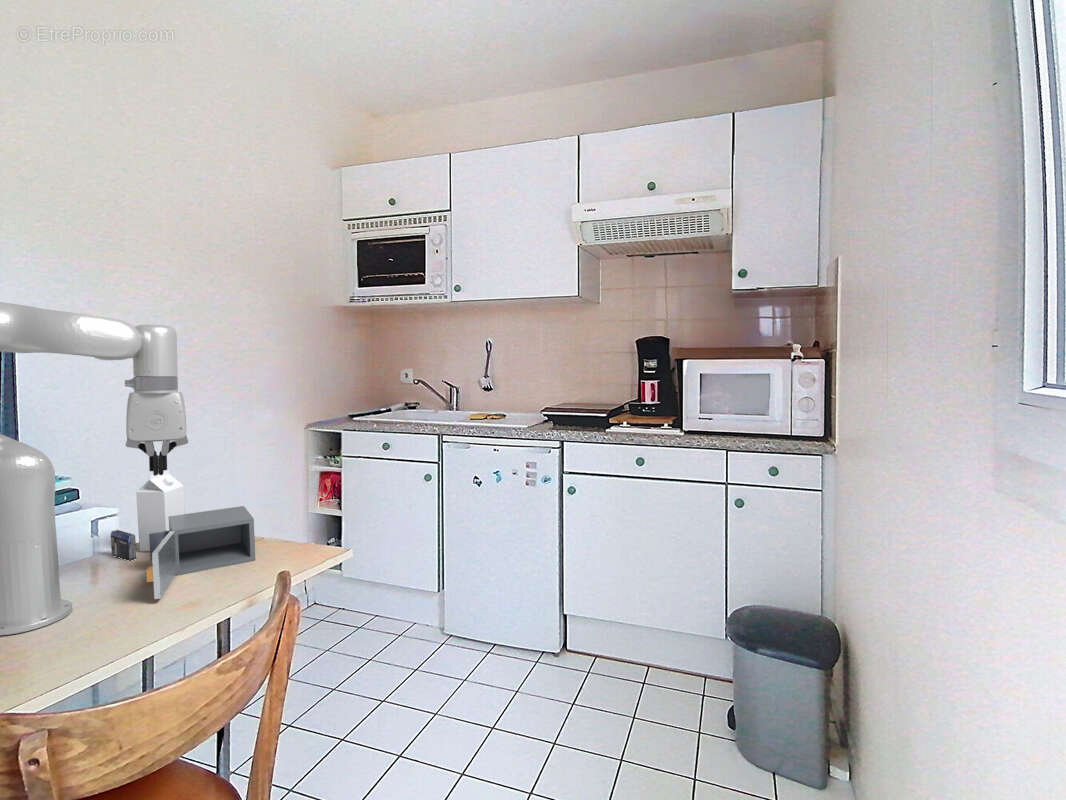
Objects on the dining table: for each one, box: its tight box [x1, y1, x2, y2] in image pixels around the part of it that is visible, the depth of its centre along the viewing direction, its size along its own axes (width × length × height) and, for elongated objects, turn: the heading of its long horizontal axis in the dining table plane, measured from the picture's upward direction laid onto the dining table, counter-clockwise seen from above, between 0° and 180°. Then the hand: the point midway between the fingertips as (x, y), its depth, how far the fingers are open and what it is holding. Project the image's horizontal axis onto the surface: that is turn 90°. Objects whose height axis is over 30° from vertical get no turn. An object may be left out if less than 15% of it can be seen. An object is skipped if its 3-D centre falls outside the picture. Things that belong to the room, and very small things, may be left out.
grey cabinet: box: [149, 505, 256, 577], centre depth 131 cm, size 20×14×10 cm
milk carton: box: [136, 469, 186, 553], centre depth 141 cm, size 7×7×19 cm
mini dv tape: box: [110, 529, 137, 562], centre depth 134 cm, size 8×2×6 cm, turn 60°
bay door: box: [146, 531, 177, 600], centre depth 114 cm, size 15×2×9 cm, turn 22°
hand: (158, 474), depth 116 cm, fingers closed
